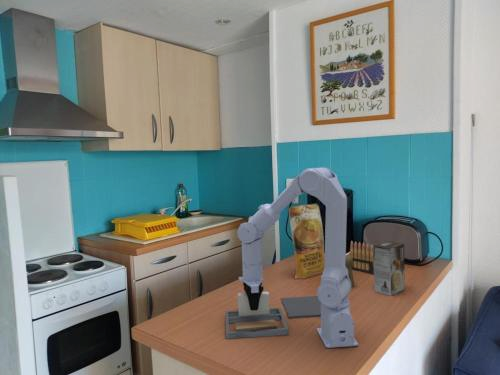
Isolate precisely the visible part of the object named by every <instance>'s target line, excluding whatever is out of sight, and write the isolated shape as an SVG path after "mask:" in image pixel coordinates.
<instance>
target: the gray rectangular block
mask: <svg viewBox="0 0 500 375" xmlns="http://www.w3.org/2000/svg"><path fill="white" fill-rule="evenodd" d="M237 302H238V303H237V306H238V310H239V316H252V315H267V314H270V308H271V307H270V293H269V291H263V292H262V294H261V296H260V301H259V307H258V310H250V306H249V301H248V297H247V294H246V293H245V292H238V293H237Z"/></svg>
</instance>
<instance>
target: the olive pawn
mask: <svg viewBox="0 0 500 375" xmlns="http://www.w3.org/2000/svg"><path fill="white" fill-rule="evenodd" d="M352 264H353V259H352V257H351V256H350V255H347V254H346V260H345V266H346V268H347V269H348V277H349V279H350V281H351V290H352V289H354V288H355V282H354V280H355V279H354V275H353V274H354V273H353V270H352V266H351V265H352Z"/></svg>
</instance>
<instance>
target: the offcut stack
mask: <svg viewBox="0 0 500 375" xmlns="http://www.w3.org/2000/svg"><path fill="white" fill-rule="evenodd" d="M278 328H280V327H279V325H278V323H277V322H276V320H264V321H252V322H240V323H234V327H233V332H234V331H249V330H263V329H278Z"/></svg>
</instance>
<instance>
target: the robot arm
mask: <svg viewBox="0 0 500 375" xmlns="http://www.w3.org/2000/svg"><path fill="white" fill-rule="evenodd" d="M304 194H308V195H310V196H313V197H315V198H317V199H318V201H320V202H321V203H322V204H323V205H324V206H325V224H324V225H325V229H324V230H325V232H324V234H325V235H324V238H325V239H324V270H323V273H322V274H321V277H320V285H318V287H317V291H316V292H317V293H316V294H317V295H316V296H318V299H319V301H320V302H321V316H320V327H317V328H316V332H317V333H318V335H319V337H320V339H321V340H322V342H323V345H324V346H325V347H326V348H327V349H328V348H329V349H330V348H331V349H332V348H346V347H347V348H348V347H358V346H359V343H358V342H357V340H356V338H355V321H354V318H353V316H352V315H351V312H350V308H351V307H350V306H351V305H350V302H351V301H350V299H349V297H348V295H349V293H350V292H351V290H352V289H351V281H350V279H349V277H348V269H347V268H346V266H345V260H346V255H347V254H346V252H347V251H346V250H347V218H348V217H347V216H348V215H347V214H348V197H347V195H346V192H345V191H344V189H343V186H341V184H340V182H339V179H338V175H337V174H336V173H335V172H333V171H332V170H331V169H329V168H328V167H325V166H320V167H309V168H306V169H304V170H303V171H302V172H301V173H300V174H299V175H297V176H296V177H294V179H293V180H292V181H291V182H290V183H289V184H288V185H287V186H286V187H285V188H284V189H283V191H282V192H281V193H280V194H279V195H278V196H277V197H276V198H275V199H274V200H273V202H272V203H265V204H261V205H259V206H258V207H257V208H258V210H257V211H256V213H255V214H253V215H252V216H251V215H250V216H249V217H248V221H247V222H243V223H240V225H239V227H238V229H237V232H236V234H237V237H238V239H239V241H241V256H242V257H241V259H242V260H241V261H242V264H241V265H242V276H239V277H238V281H239V282H242V285H243V290H244V293H246V294H247V297H248V301H249V306H250V310H258V307H259V301H260V296H261V294H262V292H264V286H263V281H264V276H263V254H262V252H263V250H262V244H263V243H262V242H263V237H264V236H265V234H266V232H267V231H268V230H269V229H270V228H271V227H273V226H274V225H275V224H276V223H277V221H279V219H280V217H281V216H280V215H281V214H280V213H281V212H282V211H283V210H284V209H285V208H286V207H288V206H289V205H290V204H291V203H292V202H293V201H294V200H296V198H298V197H299V196H300V195H304Z"/></svg>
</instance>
